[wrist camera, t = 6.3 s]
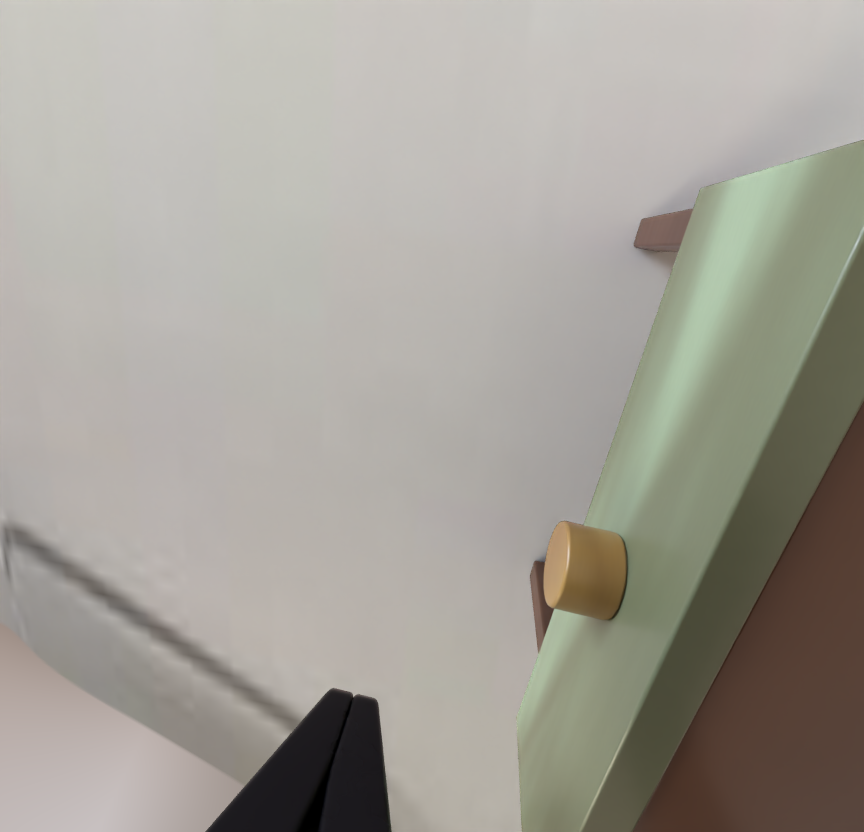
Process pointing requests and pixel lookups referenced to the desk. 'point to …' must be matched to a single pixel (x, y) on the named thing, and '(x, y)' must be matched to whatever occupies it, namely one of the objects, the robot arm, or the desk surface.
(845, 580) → the drawer unit
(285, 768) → the robot arm
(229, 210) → the desk surface
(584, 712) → the drawer
